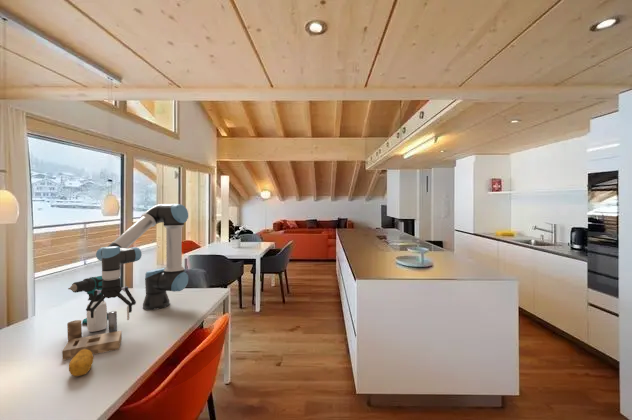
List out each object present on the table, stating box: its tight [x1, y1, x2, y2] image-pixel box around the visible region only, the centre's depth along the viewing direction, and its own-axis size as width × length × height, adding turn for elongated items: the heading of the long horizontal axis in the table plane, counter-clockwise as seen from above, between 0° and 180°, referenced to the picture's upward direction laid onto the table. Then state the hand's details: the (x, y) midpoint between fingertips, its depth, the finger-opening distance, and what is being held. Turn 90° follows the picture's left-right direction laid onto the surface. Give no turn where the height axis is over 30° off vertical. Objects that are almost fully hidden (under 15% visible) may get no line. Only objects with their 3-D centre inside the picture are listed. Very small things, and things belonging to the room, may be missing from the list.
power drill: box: [67, 275, 109, 325], centre depth 169 cm, size 26×9×25 cm, turn 168°
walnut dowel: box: [67, 319, 83, 342], centre depth 144 cm, size 5×5×10 cm
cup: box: [86, 300, 108, 333], centre depth 158 cm, size 8×8×14 cm
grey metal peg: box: [107, 310, 118, 333], centre depth 151 cm, size 3×3×12 cm
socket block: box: [61, 330, 123, 361], centre depth 138 cm, size 20×12×4 cm, turn 118°
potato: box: [68, 349, 95, 377], centre depth 119 cm, size 7×14×7 cm, turn 25°
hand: (112, 321), depth 150 cm, fingers open, 13 cm apart
